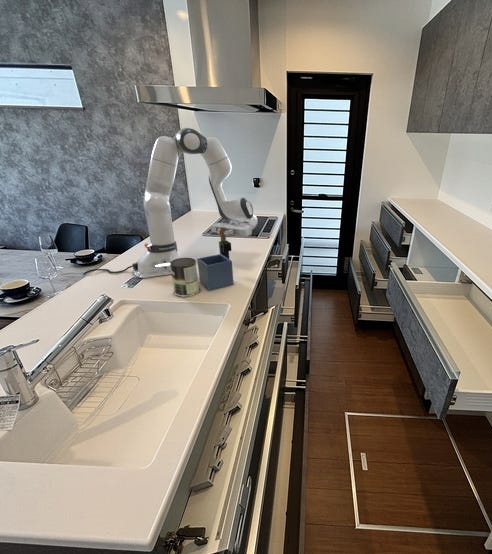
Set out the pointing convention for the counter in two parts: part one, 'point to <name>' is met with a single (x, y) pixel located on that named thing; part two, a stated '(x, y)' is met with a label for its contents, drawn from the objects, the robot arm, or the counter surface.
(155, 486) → the counter surface
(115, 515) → the counter surface
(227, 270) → the bin
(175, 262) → the coffee can
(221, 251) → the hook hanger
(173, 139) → the robot arm
